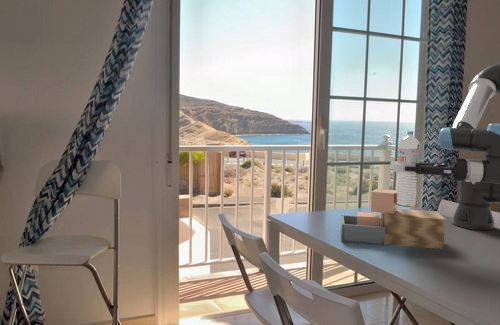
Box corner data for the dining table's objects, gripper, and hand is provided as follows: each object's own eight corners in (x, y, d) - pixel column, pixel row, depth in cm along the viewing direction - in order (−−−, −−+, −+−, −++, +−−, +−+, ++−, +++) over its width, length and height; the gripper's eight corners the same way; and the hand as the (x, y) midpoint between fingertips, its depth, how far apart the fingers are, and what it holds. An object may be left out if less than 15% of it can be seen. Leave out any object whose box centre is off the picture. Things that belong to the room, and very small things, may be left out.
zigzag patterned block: (435, 238, 152) (437, 211, 151) (443, 249, 140) (445, 219, 139) (379, 234, 155) (381, 207, 154) (383, 244, 144) (385, 215, 143)
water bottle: (417, 207, 140) (423, 132, 138) (396, 206, 142) (401, 131, 139) (413, 203, 147) (419, 131, 144) (393, 202, 148) (398, 130, 146)
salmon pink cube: (397, 210, 150) (398, 190, 150) (393, 213, 144) (394, 193, 144) (375, 207, 154) (376, 188, 153) (370, 211, 148) (371, 191, 147)
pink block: (377, 213, 154) (357, 211, 155) (379, 217, 147) (358, 216, 148) (376, 233, 155) (356, 231, 156) (378, 238, 148) (357, 237, 149)
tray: (379, 233, 157) (380, 217, 156) (383, 245, 142) (385, 227, 142) (340, 230, 159) (341, 214, 159) (341, 241, 145) (342, 224, 144)
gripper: (474, 186, 130) (395, 181, 135) (455, 177, 150) (387, 173, 154) (476, 162, 130) (397, 158, 134) (457, 156, 149) (389, 152, 153)
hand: (392, 166), depth 144 cm, fingers closed on water bottle, 7 cm apart
